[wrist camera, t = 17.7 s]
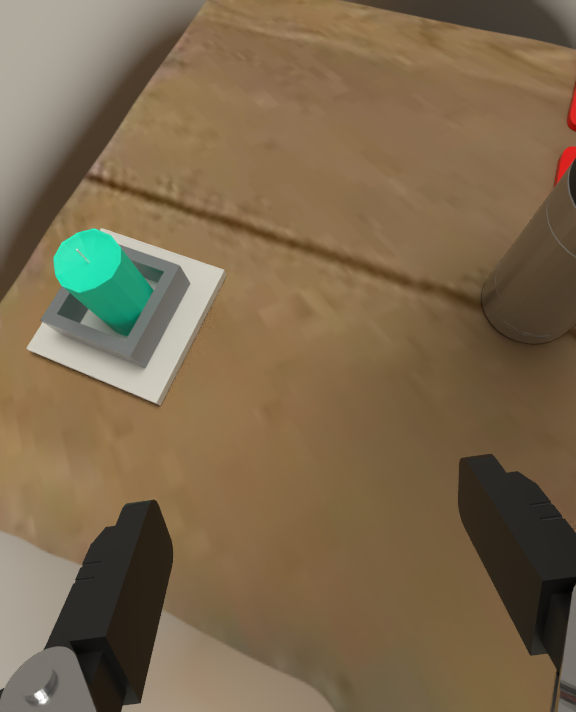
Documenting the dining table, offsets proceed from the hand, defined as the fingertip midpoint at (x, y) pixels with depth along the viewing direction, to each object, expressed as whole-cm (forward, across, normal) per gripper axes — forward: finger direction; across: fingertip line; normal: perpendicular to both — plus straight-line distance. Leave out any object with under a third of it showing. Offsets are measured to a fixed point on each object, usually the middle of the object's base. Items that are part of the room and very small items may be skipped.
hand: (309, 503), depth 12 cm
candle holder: (+38, +17, +6) cm, 42 cm away
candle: (+37, +16, +5) cm, 40 cm away
